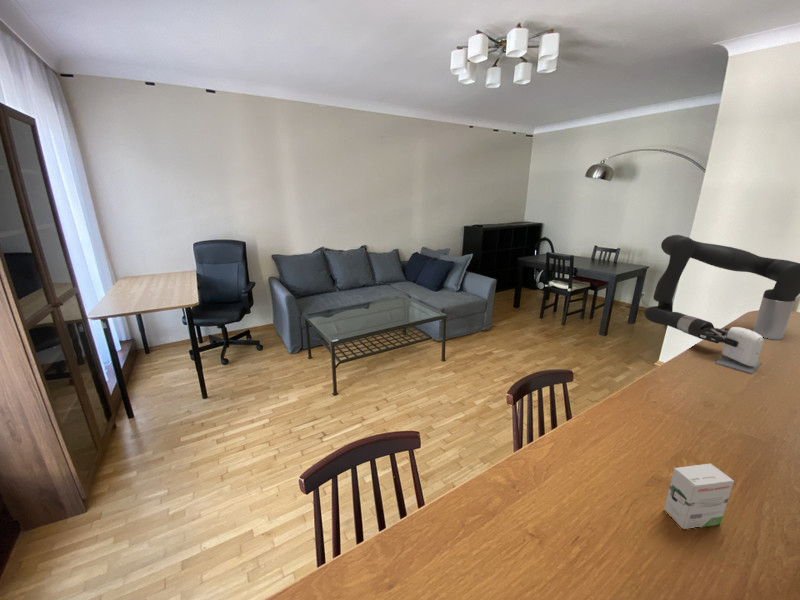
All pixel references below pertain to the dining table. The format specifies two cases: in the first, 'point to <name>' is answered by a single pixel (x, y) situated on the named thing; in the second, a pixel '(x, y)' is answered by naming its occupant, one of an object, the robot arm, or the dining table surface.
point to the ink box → (698, 495)
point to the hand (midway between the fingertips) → (742, 343)
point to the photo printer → (744, 346)
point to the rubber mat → (737, 364)
